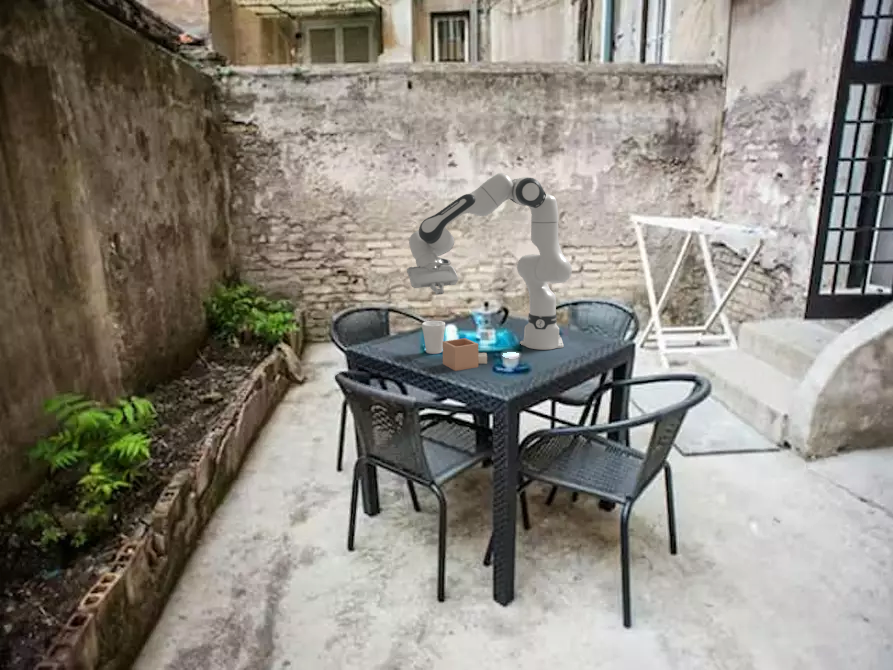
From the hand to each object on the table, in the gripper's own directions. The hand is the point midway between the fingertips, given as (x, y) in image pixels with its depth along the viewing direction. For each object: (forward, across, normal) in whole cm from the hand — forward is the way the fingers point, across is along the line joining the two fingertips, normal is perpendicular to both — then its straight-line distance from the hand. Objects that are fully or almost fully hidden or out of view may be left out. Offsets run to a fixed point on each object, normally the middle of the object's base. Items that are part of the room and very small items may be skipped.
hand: (440, 293), depth 235 cm
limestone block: (+30, +10, +8) cm, 32 cm away
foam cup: (+14, +1, +24) cm, 27 cm away
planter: (+30, 0, +8) cm, 31 cm away
